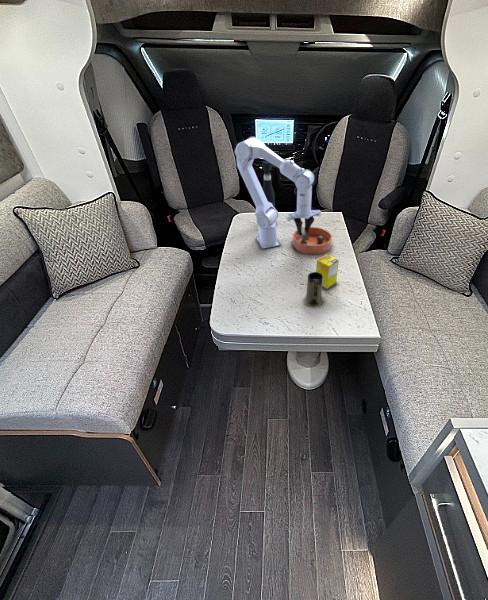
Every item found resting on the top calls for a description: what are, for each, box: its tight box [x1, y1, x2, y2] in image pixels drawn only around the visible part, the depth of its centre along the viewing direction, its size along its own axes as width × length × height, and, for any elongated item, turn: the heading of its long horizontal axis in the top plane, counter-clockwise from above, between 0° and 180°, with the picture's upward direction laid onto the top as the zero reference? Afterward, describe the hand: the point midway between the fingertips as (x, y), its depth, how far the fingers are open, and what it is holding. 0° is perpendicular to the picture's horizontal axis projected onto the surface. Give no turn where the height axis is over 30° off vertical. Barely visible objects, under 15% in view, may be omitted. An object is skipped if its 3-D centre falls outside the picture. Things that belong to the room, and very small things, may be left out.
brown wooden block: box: [296, 226, 309, 241], centre depth 144 cm, size 7×3×3 cm, turn 20°
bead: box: [317, 236, 324, 243], centre depth 154 cm, size 3×3×3 cm
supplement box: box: [315, 253, 340, 291], centre depth 127 cm, size 6×6×11 cm
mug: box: [305, 271, 323, 307], centre depth 118 cm, size 8×6×12 cm
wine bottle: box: [262, 160, 276, 209], centre depth 160 cm, size 6×6×30 cm
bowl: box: [292, 226, 333, 255], centre depth 152 cm, size 17×17×4 cm
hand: (302, 233), depth 144 cm, fingers closed on brown wooden block, 2 cm apart
